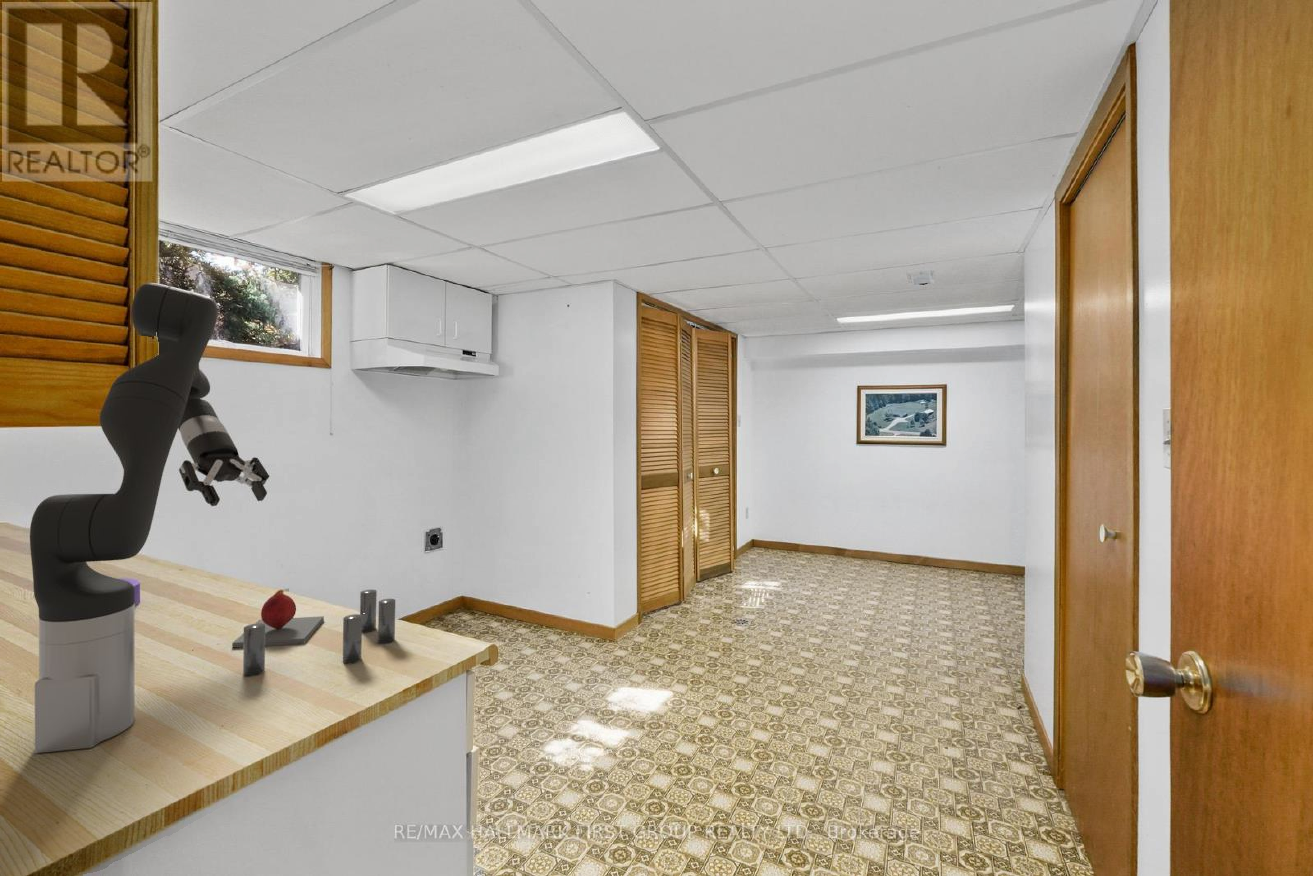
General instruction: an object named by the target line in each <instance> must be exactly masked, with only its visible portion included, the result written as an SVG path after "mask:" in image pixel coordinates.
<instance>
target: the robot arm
mask: <svg viewBox="0 0 1313 876" xmlns="http://www.w3.org/2000/svg"><path fill="white" fill-rule="evenodd" d="M130 311H131V312H130V313H131V315H130V317H131V322H132V325H133V327H134V329H135V331H136V333H137V334H139V335H141V336H148V337H152V339H154V336H156V332H157V337H158V342H159V355H158V356H156V357H154V358H149V359H147V360H146V361H144V362H142V363H140V364H137V365H136V366H133V367H131V368H130V369H128V370H126V371H125V372H123V373H122V374H121V375H119V376H118V377H117V378H115V380H114V381H113V383H112V384H111V386H110V388H109V391H108V394H107V395H106V398H105V401H104V402H103V405H102V407H101V410H100V412H99V423H100V427H101V431H102V432H103V433H104V435H105V438H106V439H107V441H108V443H109V444H110V446H111V447H112V449H113V451H114V452H115V454H116V455H117V457H118V459H119V461H120V463H121V465H122V469H123V476H122V482H121V485H120V486H119V489H118V490H117V492H115V493H79V494H78V493H77V494H76V493H75V494H74V493H72V494H71V493H69V494H68V493H67V494H56V495H52V496H49V497H46V498H45V499H43V500H42V501H40V504H38V505H37V507H36V508H35V511H34V512H33V515H32V517H31V523H30V528H29V547H30V548H29V549H30V557H31V558H30V559H31V569H32V570H31V571H32V579H33V580H32V581H33V583H32V584H33V595H34V596H33V597H34V600H35V603H36V605H37V607H38V680H36V682H35V683H34V753H35V754H39V753H50V752H60V751H71V750H79V749H80V750H81V749H91V748H93V747H95V746H97V744H99V743H102V742H103V741H106V740H108V739H111V738H113V737H115V736H117V735H119V734H121V733H123V732H124V731H126V730H127V729H128V728H130V727H131V726H132V725H133V723H134V722H135V719H136V716H135V715H136V714H135V713H136V711H135V708H136V705H135V703H136V702H135V698H136V697H135V695H136V693H135V689H136V688H135V686H136V683H135V676H136V675H135V671H136V670H135V668H136V667H135V666H136V665H135V662H136V661H135V660H136V659H135V655H136V654H135V649H136V645H135V644H136V643H135V635H136V633H135V632H136V631H135V626H136V625H135V623H136V619H135V618H136V612H135V611H136V606H135V589H134V586H133V585H132V584H131V583H130V582H127V581H125V580H121V579H119V578H116V577H112V576H109V575H105V574H103V573H100V572H99V571H96V570H94V569H93V568H91V567H90V566H89V565H88V563H89V562H108V561H121V560H129V559H131V558H134V557H135V556H137V555H138V553H140V551H141V550H142V549H143V548H144V546H145V545H146V542H147V540H148V537H149V534H150V531H151V528H152V527H151V526H152V523H153V520H154V515H155V510H156V506H157V501H158V496H159V493H160V488H161V483H162V479H163V475H164V474H163V473H164V470H165V467H166V464H167V460H168V457H169V454H170V451H171V449H172V446H173V442H174V440H175V437H176V435H177V433H178V431H179V433H180V435H181V439H182V441H183V444H184V446H185V447H186V449H187V451H188V453H189V456H190V457H191V459H192V461H190V460H188V459H187V460H184V461H183V462H182V464H181V465H180V467H179V468H178V471H179V474H180V476H181V479H182V481H183V484H184V486H185V489H186V490H187V491H188V492H194V491H198V492H199V493H201V495H202V497H203V498H204V501H205V502H206V503H207V504H208V505H210V506H211V507H217V505H218V504H219V503H220V498H221V497H220V496H219V495H218V493H217V491H216V489H215V487H214V485H211V484H212V482H213V481H215V482H217V483H219V482H220V483H222V482H225V481H226V482H227V481H228V482H233V481H236V482H237V483H239V484H244V485H247V486H248V487H250V489H251V492H252V493H253V495H254V497H255V498H256V500H257V501H258V502H263V501H264V499H265V498H266V496H267V494H268V491H267V490H266V488H265V484H266V482H267V481H268V479H269V478H270V474H269V473H268V472H267V469H266V468H265V467H264V465H263V464H262V462H261V461H260V459H259V458H258V457H255V456H254V457H252V458H251V459H250V460H249V459H248V460H244V459H243V458H241V457H240V455H239V452H238V448H237V446H236V445H235V443H234V441H233V439H232V438H231V436H230V434H229V432H228V430H227V428H226V427H225V425H224V424H223V423H222V422H221V420H220V419H219V417H218V415H217V413H216V412H215V410H214V409H215V408H213V406H212V404H211V403H210V402H209V401H207V400H205V399H203V398H205V397H207V396H208V394H210V391H211V383H210V382H209V379H208V378H207V376H206V374H205V373H204V372H203V370H201V369H200V362H201V360H202V357H203V354H204V352H205V350H206V348H207V345H208V344H209V342H210V339H211V337H212V334H213V332H214V330H215V327H216V323H217V320H218V307H217V304H216V302H215V301H214V300H213V299H212V298H211V297H209V296H207V295H203V294H201V293H198V292H193V291H190V290H185V289H182V288H177V287H175V286H170V285H169V286H168V285H166V284H163V283H156V282H146V283H143V284H142V285H140V286H139V287H138V289H137V290H136V292H135V294H134V297H133V299H132V303H131V310H130ZM139 335H138V336H139ZM192 462H193V463H192ZM196 471H197V472H198V473H200V474H201V475H203V476H205V478H204V480H203V481H200V480H199V478H198V476H197V475H198V474H197V473H196ZM242 473H243V476H241V474H242ZM87 562H88V563H87Z"/></svg>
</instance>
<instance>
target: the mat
mask: <svg viewBox="0 0 1313 876" xmlns="http://www.w3.org/2000/svg"><path fill="white" fill-rule="evenodd" d="M324 621H325V616H324V615H322V616H304V617H303V616H301V617H293V618H292V619H291V620H290V621H289V622H288V623H287V624H286V625H284V627H283V628H281V629H275V628H272V627H270V626H268V625H267V624H265V623H264V622H263V620H262V619H258V620H257V622H255V623H254V624H257V623H263V624H265V647H269V646H270V647H272V646H284V645H285V646H286V645H287V646H288V645H299V644H298V643H304V642H305V641H306V642H307V641H308V640H309V638H310V637H312V635H313V634H314V633H315V632H316V630H318V628H319V627H320V626H321V624H322V623H323V622H324ZM313 632H314V633H313ZM312 633H313V634H312ZM307 639H308V640H307ZM306 642H305V643H306ZM305 643H304V644H305ZM232 647H241V648H244V632H243V633H242V634H241V635H240V636H239V637H237V638H236V639H235V640H234V641H233V642H232V646H231V648H232Z"/></svg>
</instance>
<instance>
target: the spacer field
mask: <svg viewBox="0 0 1313 876" xmlns="http://www.w3.org/2000/svg"><path fill="white" fill-rule="evenodd" d="M359 596H360V597H359V599H360V601H359V614H358V613H354V614H349V615H346V616H344V617H343V619H342V620H343V625H342V627H343V629H342V663H343V664H347V665H348V663H352V664H355V663H354V662H356V661H359V660H360V659H361V660H362V641H363V639H362V638H363V637H362V635H363V633H371V632H374V631H375V630H376V629H377V643H378V644H382V645H383V644H385V645H386V644H390V643H394V642H395V639H396V638H395V635H396V633H395V632H396V599H394V598H383V599H380V600H379V601H378V617H377V596H378V595H377V590H376V589H365V590H362V591H360V593H359ZM363 613H365V614H363ZM377 618H378V619H377ZM377 620H378V622H377ZM377 625H378V627H377ZM243 633H244V647H243V657H242V658H243V663H242V666H243V667H242V669H243V670H242V672H243V673H242V674H244V675H246V676H245V677H253V676H252V675H254V676H258V675H260V674H259V673H261V674H263V673H264V672H265V671H264V670H266V669H265V668H266V646H265V624H263V623H257V624H255V623H252V624H248V625H246V626H244V627H243ZM361 660H360V661H361ZM360 661H359V662H360ZM356 663H357V662H356ZM263 671H264V672H263ZM262 672H263V673H262ZM257 674H258V675H257ZM244 675H243V676H244Z"/></svg>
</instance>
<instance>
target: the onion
mask: <svg viewBox="0 0 1313 876" xmlns="http://www.w3.org/2000/svg"><path fill="white" fill-rule="evenodd" d="M284 592H285V591H284V589H278V590H277V591H276V592H275V593H274V594H273V595H272V596H270V597H269V598H268V599H267V601H265V602H264V604H263V605H262V607H261V613H260V618H261V620H263V622H264V623H265V624H267V625H268V626H270V627H272V628H275V629H281V628H283V627H284V625H286V624H287V623H288V622H289V621H290V620H291V619H292V618H295V615H296V612H297V605H296V603H295V601H294V600H293V599H292V597H291V596H289V595H287V594H285V593H284Z"/></svg>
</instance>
